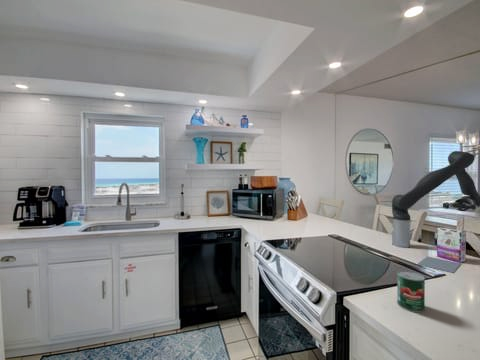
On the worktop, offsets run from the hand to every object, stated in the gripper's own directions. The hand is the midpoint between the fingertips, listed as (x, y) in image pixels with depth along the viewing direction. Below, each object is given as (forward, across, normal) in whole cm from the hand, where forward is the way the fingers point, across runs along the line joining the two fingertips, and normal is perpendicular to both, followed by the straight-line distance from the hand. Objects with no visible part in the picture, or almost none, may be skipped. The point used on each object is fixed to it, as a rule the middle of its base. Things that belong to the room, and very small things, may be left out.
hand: (455, 207), depth 137 cm
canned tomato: (+85, +8, +24) cm, 88 cm away
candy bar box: (+12, 0, +27) cm, 30 cm away
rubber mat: (+27, 0, +26) cm, 38 cm away
